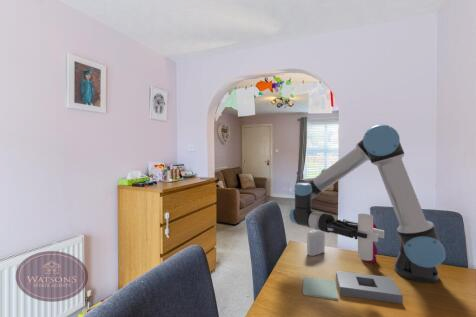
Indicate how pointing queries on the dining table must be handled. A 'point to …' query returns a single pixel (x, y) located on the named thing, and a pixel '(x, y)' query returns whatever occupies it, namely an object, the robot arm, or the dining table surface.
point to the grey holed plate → (380, 291)
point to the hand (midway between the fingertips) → (380, 236)
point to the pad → (319, 288)
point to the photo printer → (315, 242)
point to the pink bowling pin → (373, 249)
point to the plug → (365, 245)
